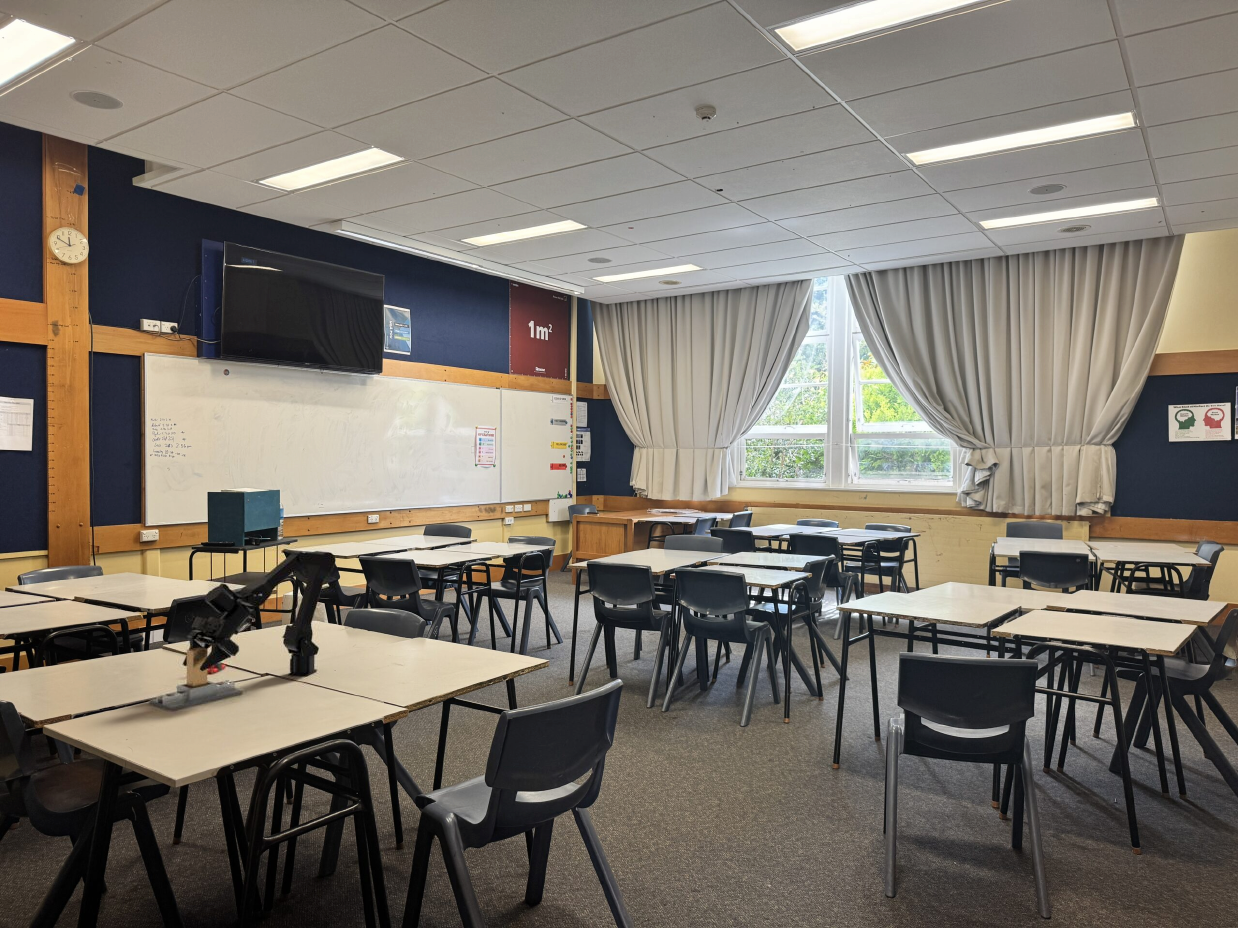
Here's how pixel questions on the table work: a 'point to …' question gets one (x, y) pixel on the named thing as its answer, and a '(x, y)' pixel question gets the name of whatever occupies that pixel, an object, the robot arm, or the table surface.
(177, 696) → the grey fixture tray
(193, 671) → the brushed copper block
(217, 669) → the tow hook
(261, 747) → the table surface
